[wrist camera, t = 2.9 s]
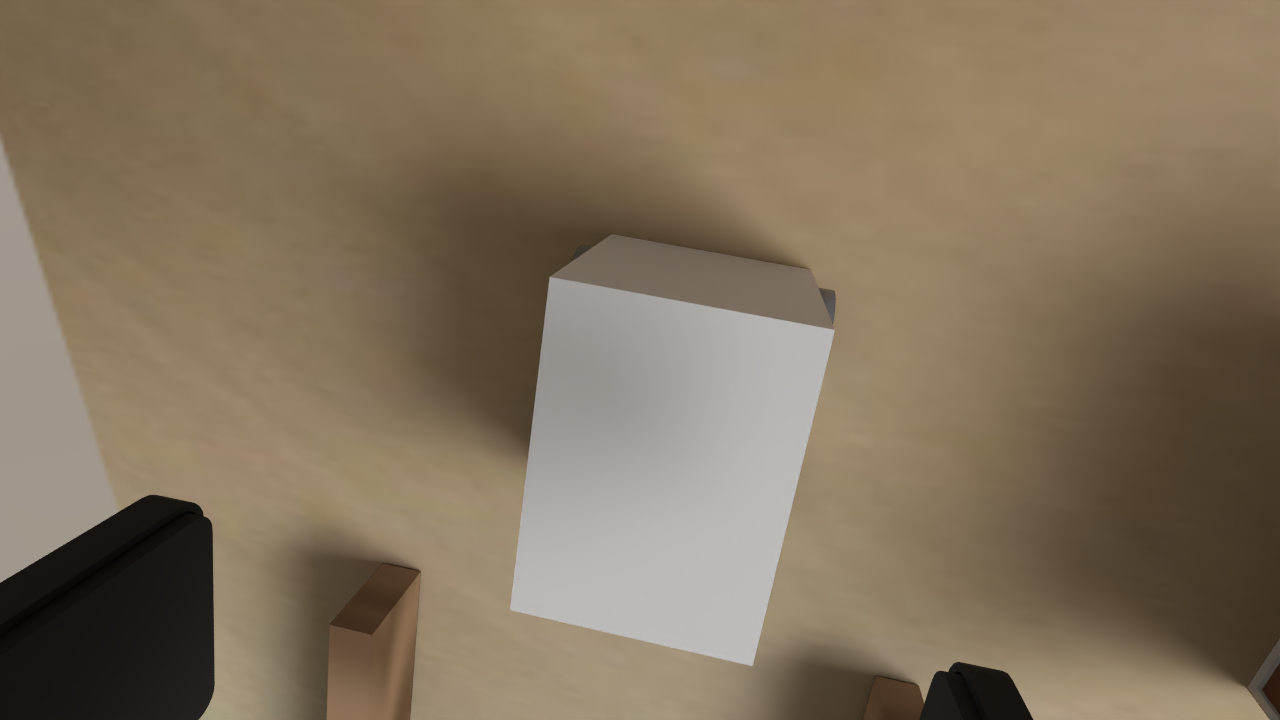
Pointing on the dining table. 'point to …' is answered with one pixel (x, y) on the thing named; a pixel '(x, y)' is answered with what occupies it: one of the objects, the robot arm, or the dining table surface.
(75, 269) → the dining table surface
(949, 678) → the robot arm
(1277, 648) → the food container
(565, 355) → the block
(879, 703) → the bay
